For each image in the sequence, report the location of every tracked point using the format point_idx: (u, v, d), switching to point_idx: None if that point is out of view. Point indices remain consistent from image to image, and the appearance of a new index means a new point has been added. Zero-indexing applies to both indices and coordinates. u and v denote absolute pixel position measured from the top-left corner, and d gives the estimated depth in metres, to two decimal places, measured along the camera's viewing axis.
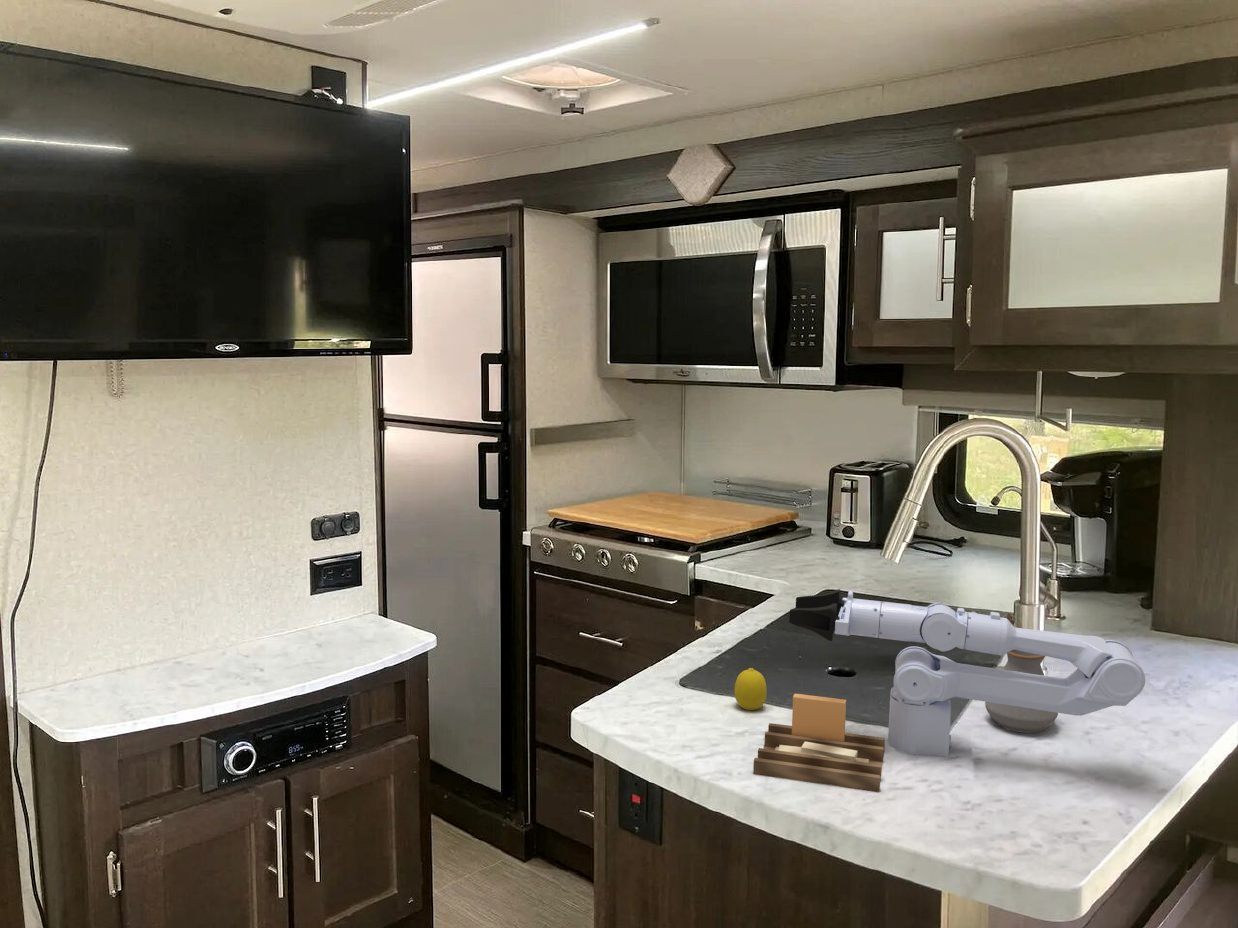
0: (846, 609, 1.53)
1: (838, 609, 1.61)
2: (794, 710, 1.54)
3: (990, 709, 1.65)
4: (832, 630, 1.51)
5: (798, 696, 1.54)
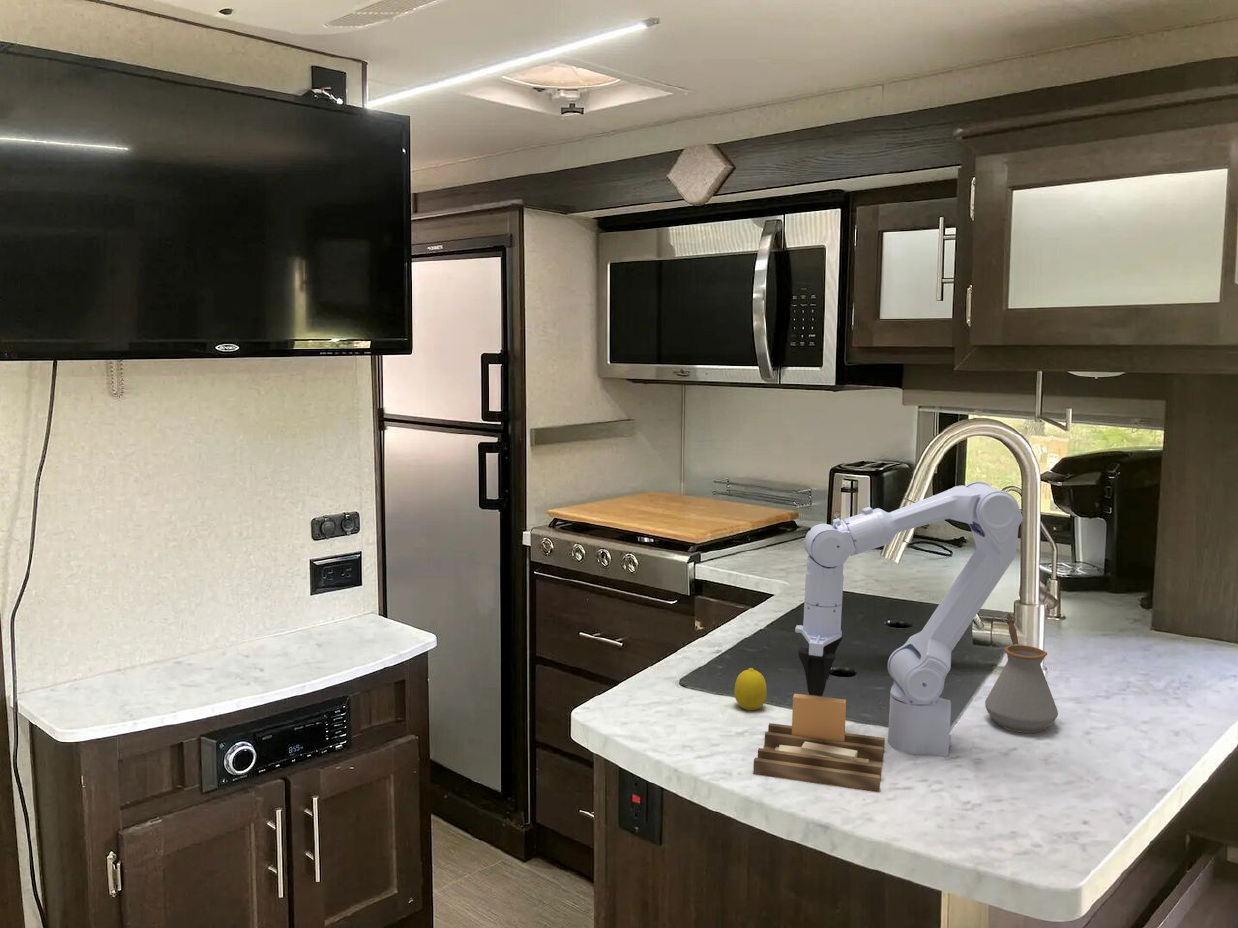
0: (805, 638, 1.51)
1: None
2: (794, 710, 1.54)
3: (990, 709, 1.65)
4: (821, 656, 1.48)
5: (798, 696, 1.54)
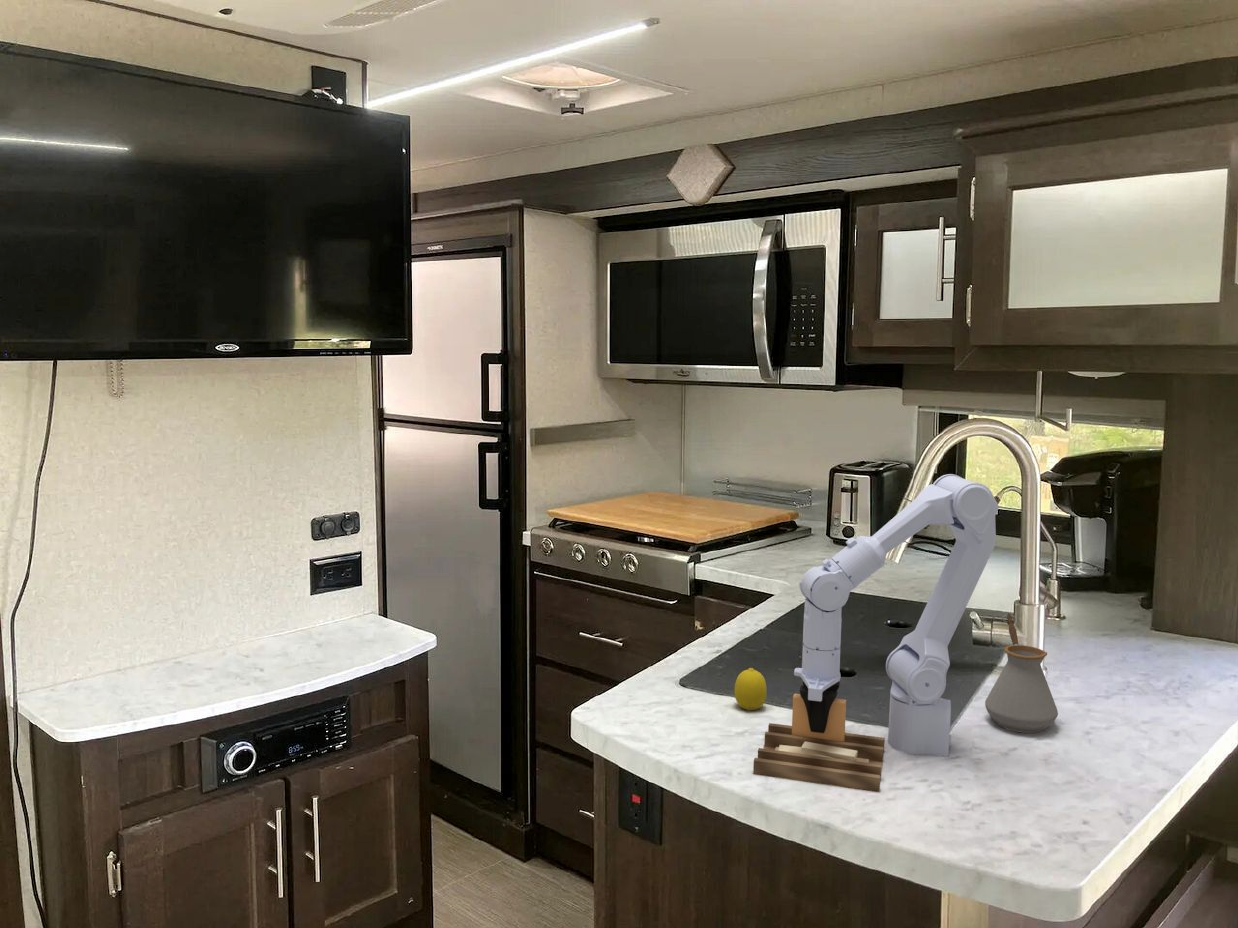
0: (804, 682, 1.50)
1: None
2: (794, 710, 1.54)
3: (990, 709, 1.65)
4: (823, 695, 1.50)
5: (798, 696, 1.54)
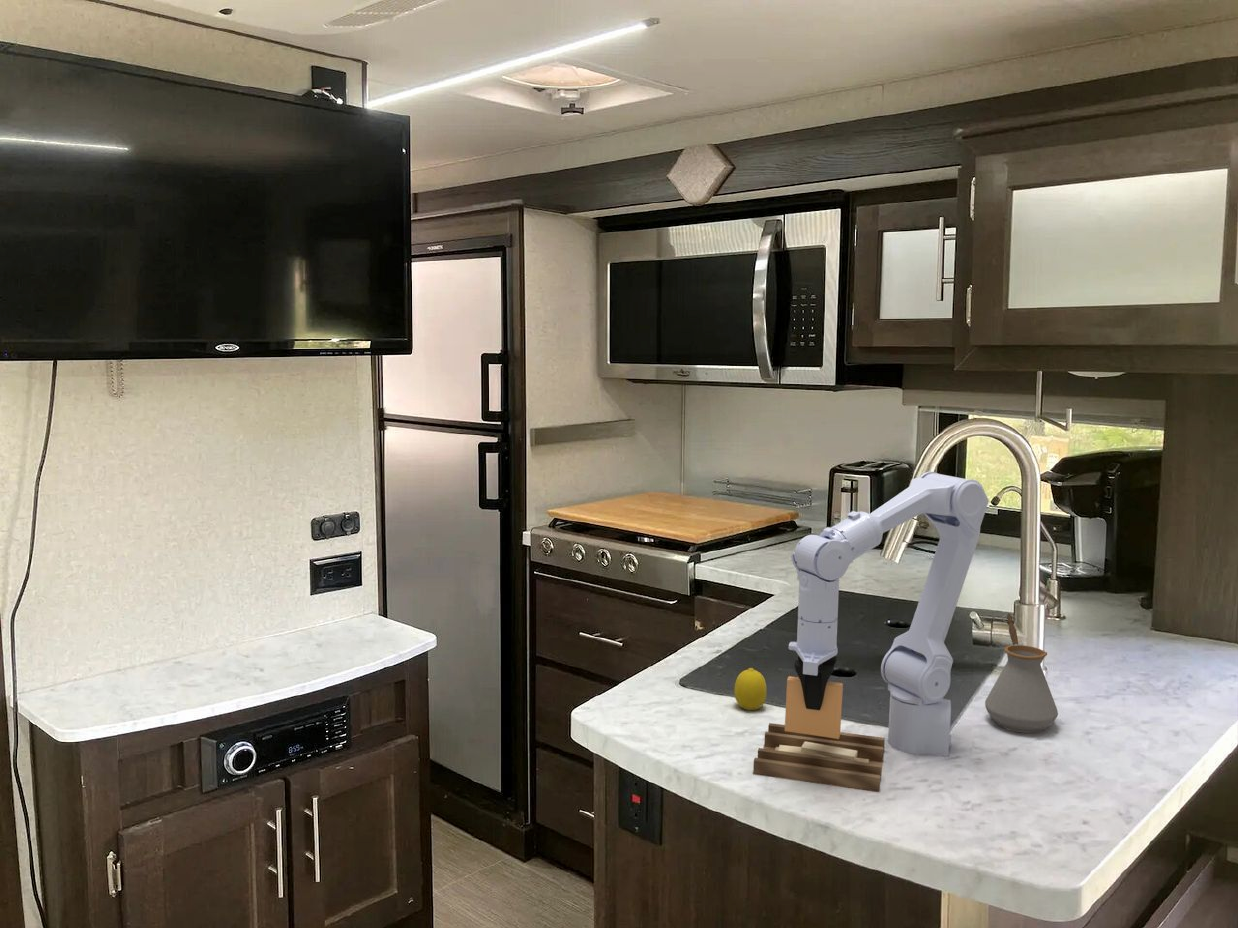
0: (799, 656, 1.43)
1: None
2: (788, 693, 1.47)
3: (990, 709, 1.65)
4: (818, 669, 1.42)
5: (792, 679, 1.47)
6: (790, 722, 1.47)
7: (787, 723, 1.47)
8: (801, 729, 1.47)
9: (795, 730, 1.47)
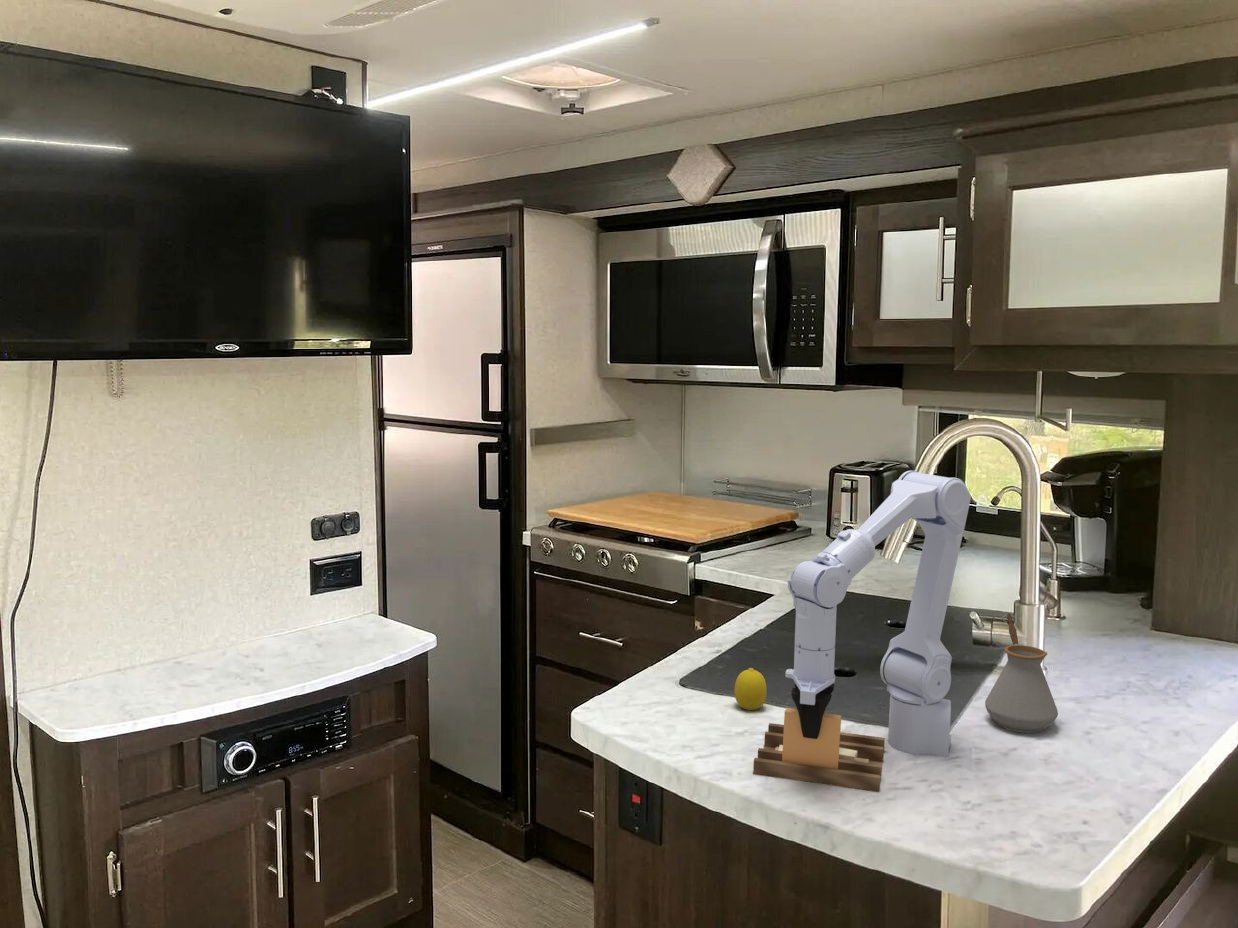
0: (796, 684, 1.40)
1: None
2: (785, 726, 1.44)
3: (990, 709, 1.65)
4: (816, 698, 1.40)
5: (790, 711, 1.45)
6: (787, 755, 1.45)
7: (784, 755, 1.45)
8: (798, 761, 1.45)
9: None
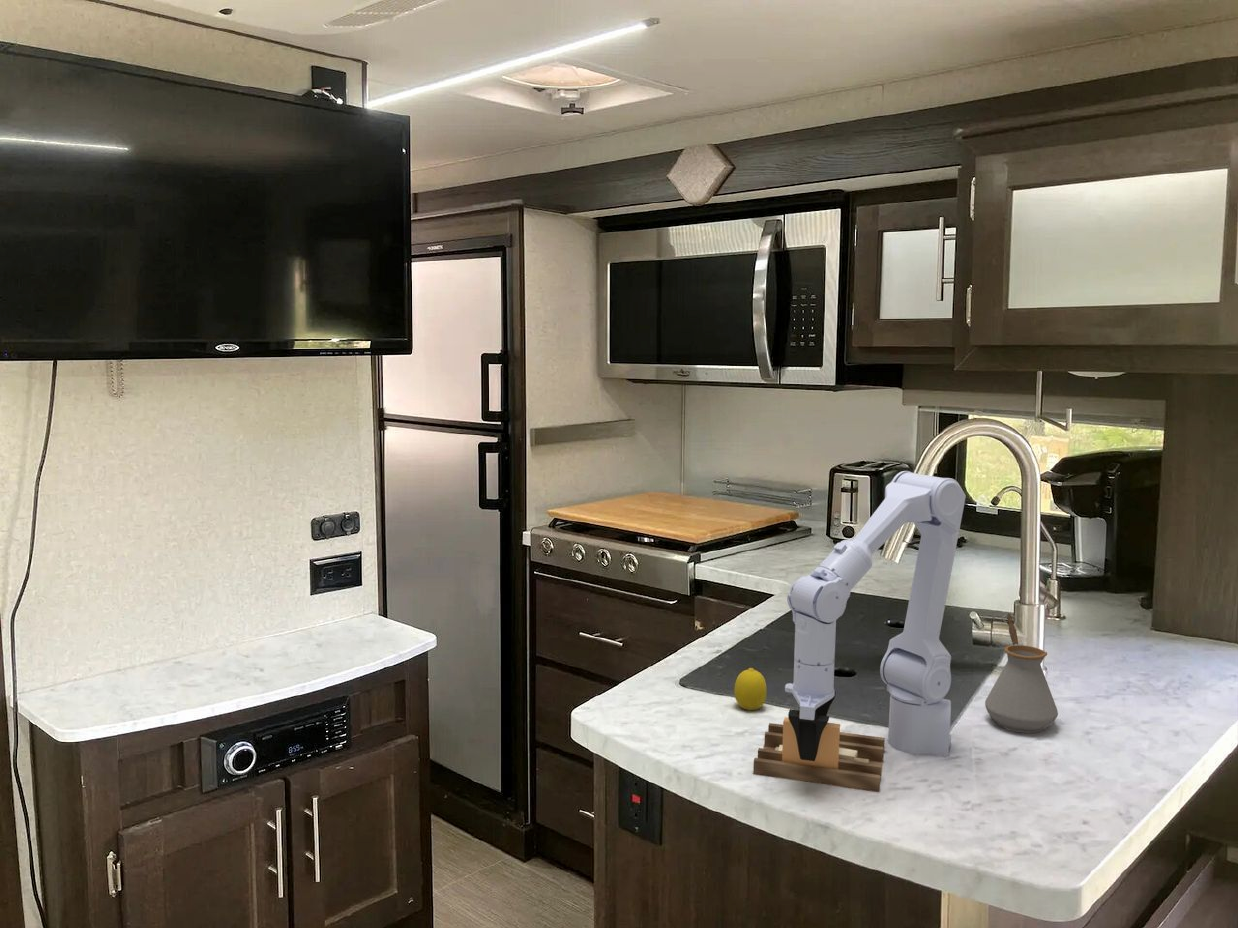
0: (796, 699, 1.41)
1: None
2: (784, 735, 1.45)
3: (990, 709, 1.65)
4: (813, 720, 1.38)
5: None
6: None
7: None
8: None
9: None
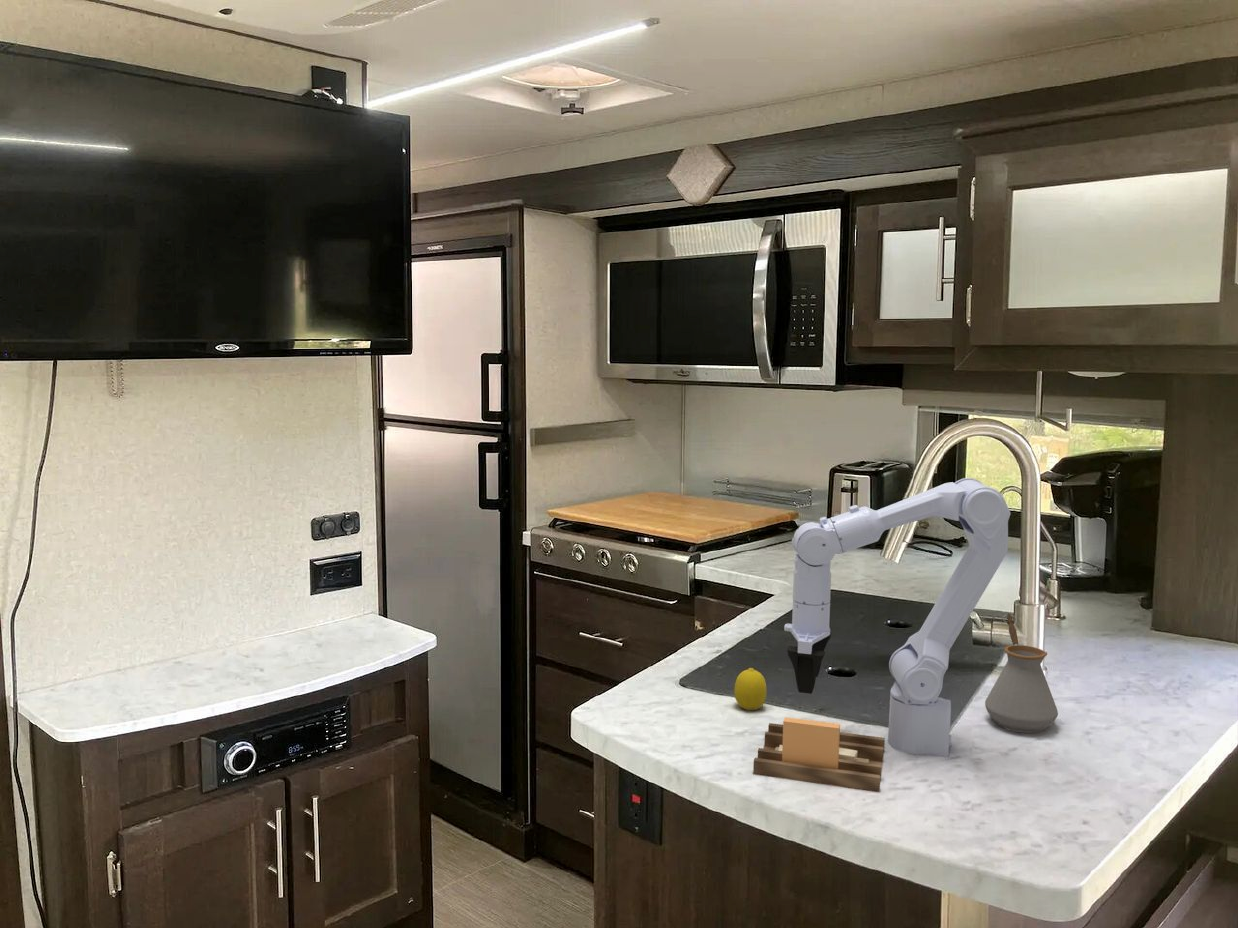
0: (794, 636, 1.52)
1: None
2: (784, 735, 1.45)
3: (990, 709, 1.65)
4: (810, 654, 1.49)
5: (789, 720, 1.45)
6: None
7: None
8: None
9: None
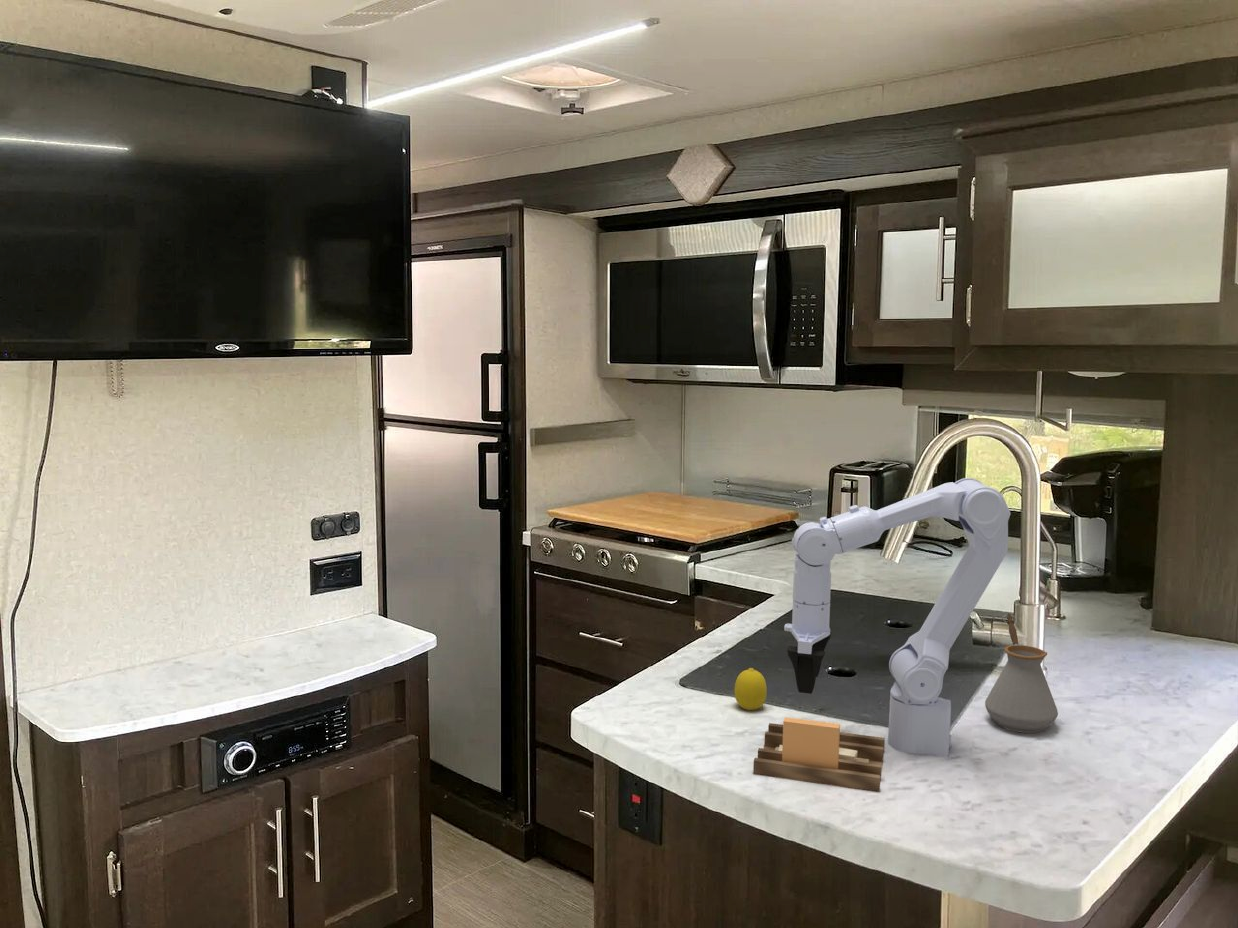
0: (794, 636, 1.52)
1: None
2: (784, 735, 1.45)
3: (990, 709, 1.65)
4: (810, 654, 1.49)
5: (789, 720, 1.45)
6: None
7: None
8: None
9: None
